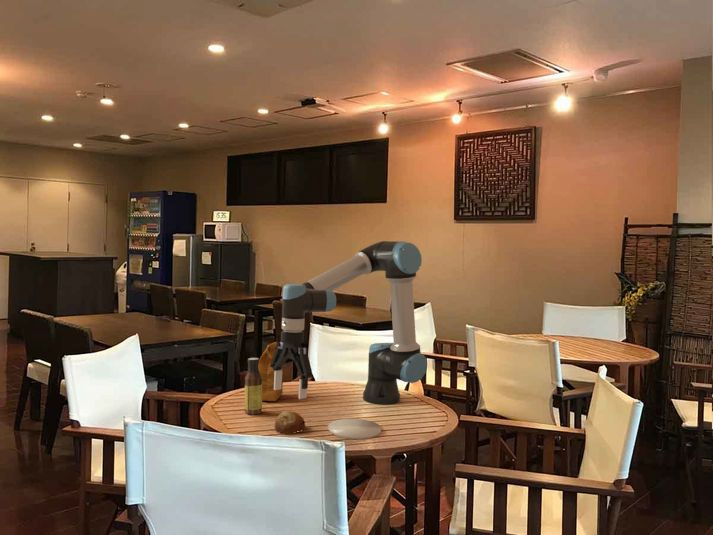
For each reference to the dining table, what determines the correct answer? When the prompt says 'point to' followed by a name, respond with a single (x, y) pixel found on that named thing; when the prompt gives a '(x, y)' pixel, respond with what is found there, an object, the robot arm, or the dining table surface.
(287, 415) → the bread roll
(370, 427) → the plate
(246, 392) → the sauce bottle
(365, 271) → the robot arm
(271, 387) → the coffee package
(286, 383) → the dining table surface
